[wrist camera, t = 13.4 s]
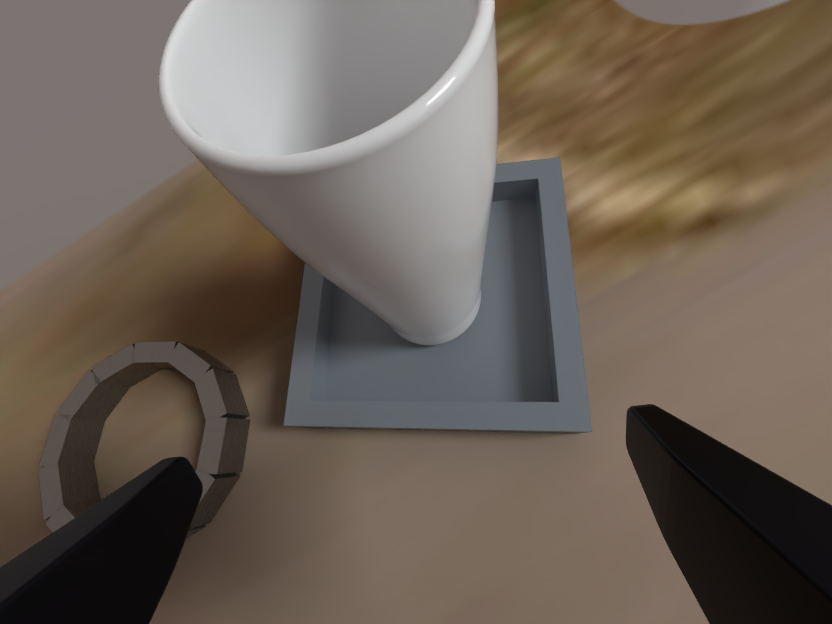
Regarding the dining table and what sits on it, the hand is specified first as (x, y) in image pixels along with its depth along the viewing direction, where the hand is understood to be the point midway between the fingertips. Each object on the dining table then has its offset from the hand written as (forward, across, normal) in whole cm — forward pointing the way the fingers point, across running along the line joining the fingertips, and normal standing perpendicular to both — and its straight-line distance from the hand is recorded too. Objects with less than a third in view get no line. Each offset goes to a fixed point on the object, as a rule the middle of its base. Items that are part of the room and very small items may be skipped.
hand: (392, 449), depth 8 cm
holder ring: (+10, +17, +7) cm, 21 cm away
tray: (+14, 0, +3) cm, 15 cm away
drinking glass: (+14, 0, +3) cm, 14 cm away
